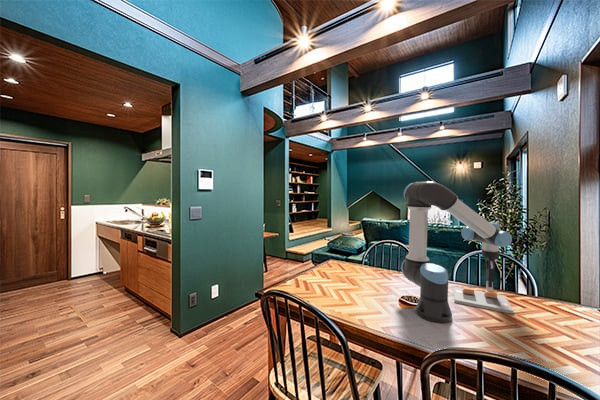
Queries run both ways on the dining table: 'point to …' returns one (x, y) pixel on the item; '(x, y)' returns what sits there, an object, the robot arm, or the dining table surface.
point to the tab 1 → (468, 290)
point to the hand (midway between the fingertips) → (489, 292)
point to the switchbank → (482, 300)
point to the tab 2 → (490, 294)
